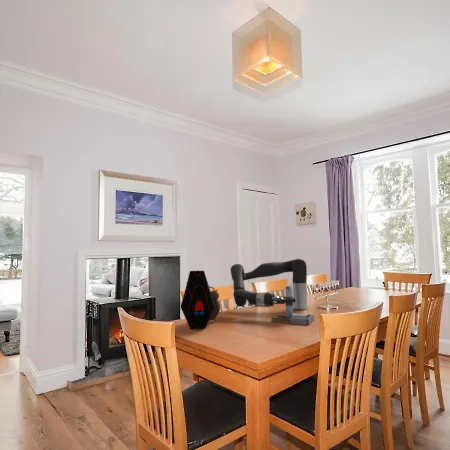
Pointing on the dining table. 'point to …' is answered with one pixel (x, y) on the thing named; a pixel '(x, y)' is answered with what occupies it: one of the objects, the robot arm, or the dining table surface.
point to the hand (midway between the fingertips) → (294, 301)
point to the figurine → (197, 301)
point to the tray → (302, 320)
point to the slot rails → (281, 319)
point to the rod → (288, 306)
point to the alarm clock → (217, 304)
